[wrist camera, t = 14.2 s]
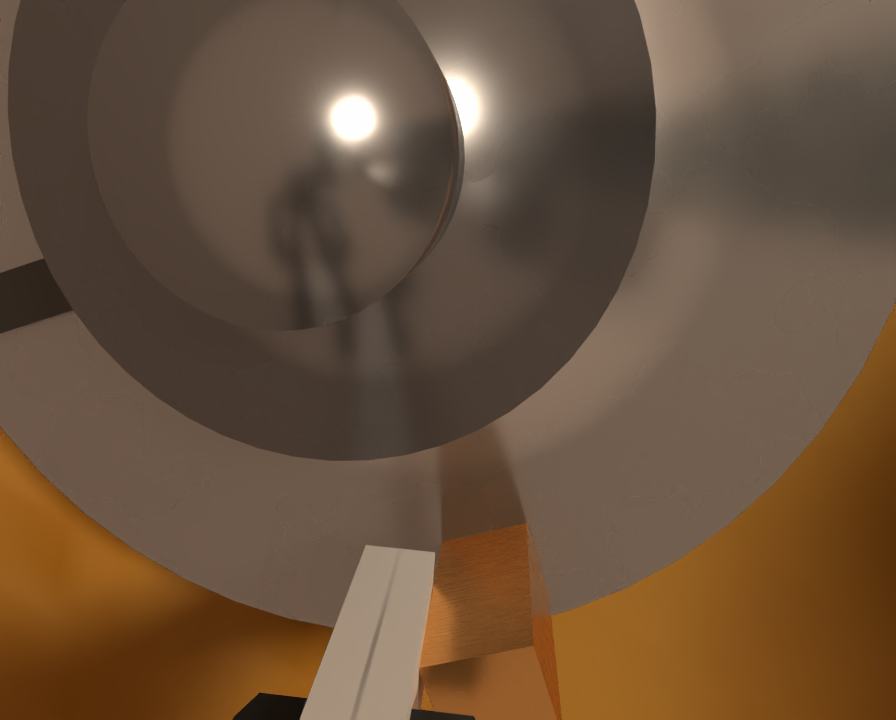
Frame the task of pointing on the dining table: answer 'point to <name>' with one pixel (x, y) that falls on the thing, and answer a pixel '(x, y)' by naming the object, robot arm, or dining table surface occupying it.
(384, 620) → the robot arm
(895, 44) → the turntable
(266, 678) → the dining table surface
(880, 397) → the dining table surface
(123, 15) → the cover
